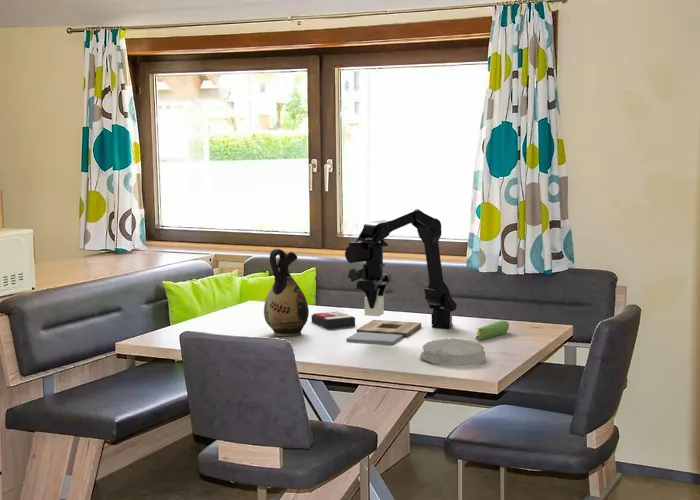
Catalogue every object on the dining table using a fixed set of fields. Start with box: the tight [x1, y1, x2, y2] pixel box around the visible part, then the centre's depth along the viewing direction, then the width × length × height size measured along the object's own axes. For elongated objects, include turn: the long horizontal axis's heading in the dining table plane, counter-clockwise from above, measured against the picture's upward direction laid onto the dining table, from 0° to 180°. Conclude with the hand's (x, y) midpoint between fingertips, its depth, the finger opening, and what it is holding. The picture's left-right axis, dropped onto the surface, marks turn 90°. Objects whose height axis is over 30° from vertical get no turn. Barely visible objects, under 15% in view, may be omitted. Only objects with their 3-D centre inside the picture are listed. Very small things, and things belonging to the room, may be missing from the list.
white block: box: [364, 295, 385, 317], centre depth 288 cm, size 5×5×6 cm
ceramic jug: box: [263, 248, 310, 337], centre depth 297 cm, size 17×15×30 cm
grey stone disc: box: [419, 337, 487, 367], centre depth 262 cm, size 20×20×7 cm
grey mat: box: [346, 331, 404, 346], centre depth 289 cm, size 16×11×1 cm
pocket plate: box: [356, 319, 422, 338], centre depth 304 cm, size 18×18×2 cm
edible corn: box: [474, 319, 510, 342], centre depth 292 cm, size 5×20×5 cm
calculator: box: [310, 310, 356, 330], centre depth 316 cm, size 11×4×15 cm
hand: (374, 307), depth 288 cm, fingers closed on white block, 5 cm apart
